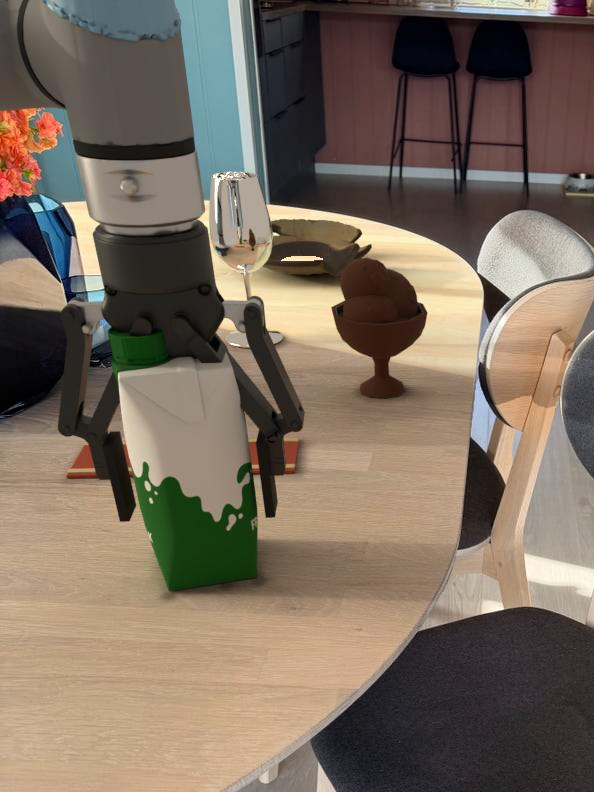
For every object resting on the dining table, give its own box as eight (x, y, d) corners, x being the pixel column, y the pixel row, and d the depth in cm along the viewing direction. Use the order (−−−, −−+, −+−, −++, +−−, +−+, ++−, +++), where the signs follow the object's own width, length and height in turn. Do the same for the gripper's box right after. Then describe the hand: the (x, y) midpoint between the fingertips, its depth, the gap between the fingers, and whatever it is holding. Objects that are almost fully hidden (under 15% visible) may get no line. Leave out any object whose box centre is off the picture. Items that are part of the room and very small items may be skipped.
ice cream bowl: (381, 415, 105) (375, 277, 96) (318, 388, 111) (307, 257, 102) (446, 390, 111) (446, 259, 103) (383, 367, 117) (378, 241, 109)
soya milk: (150, 546, 81) (100, 313, 69) (255, 531, 83) (224, 303, 71) (158, 600, 74) (103, 351, 62) (271, 581, 77) (240, 339, 65)
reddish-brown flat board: (67, 478, 91) (65, 474, 91) (87, 444, 97) (86, 440, 97) (294, 473, 93) (294, 469, 93) (299, 439, 99) (299, 435, 99)
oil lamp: (359, 247, 166) (357, 200, 161) (388, 295, 143) (386, 242, 138) (231, 252, 161) (225, 204, 157) (240, 303, 138) (233, 248, 133)
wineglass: (212, 340, 124) (187, 176, 112) (254, 326, 129) (235, 167, 118) (253, 353, 121) (232, 184, 109) (295, 337, 126) (280, 175, 114)
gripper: (-51, 235, 59) (39, 538, 72) (320, 235, 61) (342, 530, 74) (-12, 209, 65) (65, 493, 78) (325, 210, 67) (345, 487, 80)
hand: (200, 511), depth 76 cm, fingers open, 11 cm apart
